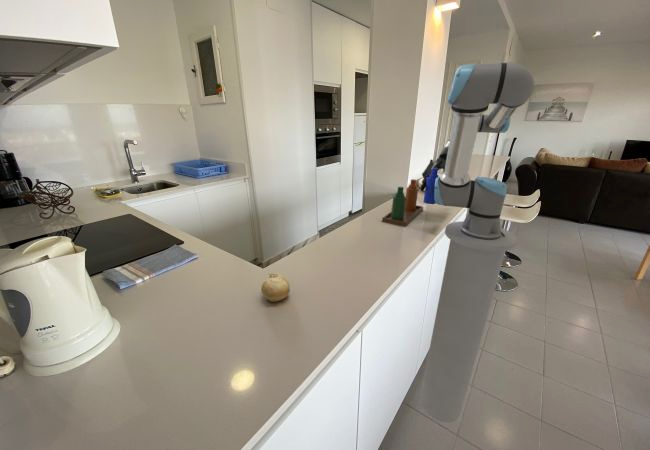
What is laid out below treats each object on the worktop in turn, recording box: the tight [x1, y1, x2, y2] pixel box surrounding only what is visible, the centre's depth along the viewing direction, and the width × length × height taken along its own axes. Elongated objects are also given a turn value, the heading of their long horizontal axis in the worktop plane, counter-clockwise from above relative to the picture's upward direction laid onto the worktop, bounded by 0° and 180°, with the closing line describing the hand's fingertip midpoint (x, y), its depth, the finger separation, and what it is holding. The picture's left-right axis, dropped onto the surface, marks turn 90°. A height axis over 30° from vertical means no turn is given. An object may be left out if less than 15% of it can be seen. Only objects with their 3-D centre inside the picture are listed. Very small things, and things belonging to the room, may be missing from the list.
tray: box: [381, 204, 424, 227], centre depth 144 cm, size 12×30×2 cm, turn 146°
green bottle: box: [391, 186, 406, 221], centre depth 133 cm, size 6×6×16 cm
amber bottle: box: [405, 178, 419, 211], centre depth 149 cm, size 6×6×16 cm
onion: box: [260, 272, 291, 303], centre depth 77 cm, size 8×8×7 cm
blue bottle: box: [422, 167, 440, 205], centre depth 132 cm, size 6×6×16 cm
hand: (427, 190), depth 130 cm, fingers closed on blue bottle, 6 cm apart
